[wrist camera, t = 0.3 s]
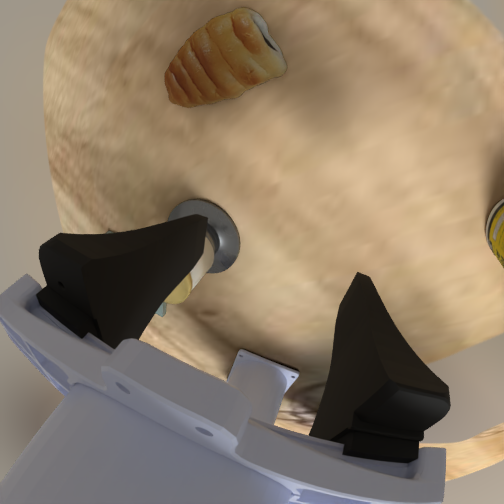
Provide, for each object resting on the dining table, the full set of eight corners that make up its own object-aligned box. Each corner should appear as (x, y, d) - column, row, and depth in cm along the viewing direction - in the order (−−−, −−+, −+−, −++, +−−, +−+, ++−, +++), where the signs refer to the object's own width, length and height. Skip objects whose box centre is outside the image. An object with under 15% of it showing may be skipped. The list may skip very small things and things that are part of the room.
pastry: (195, 126, 21) (169, 132, 18) (163, 65, 19) (134, 63, 16) (297, 71, 16) (286, 63, 13) (254, 5, 14) (235, -12, 11)
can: (210, 281, 25) (186, 313, 21) (165, 260, 26) (137, 287, 22) (219, 237, 22) (191, 266, 19) (168, 216, 23) (135, 240, 19)
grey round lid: (230, 282, 28) (220, 297, 26) (166, 253, 29) (153, 265, 27) (248, 216, 23) (238, 229, 21) (173, 188, 24) (157, 197, 22)
